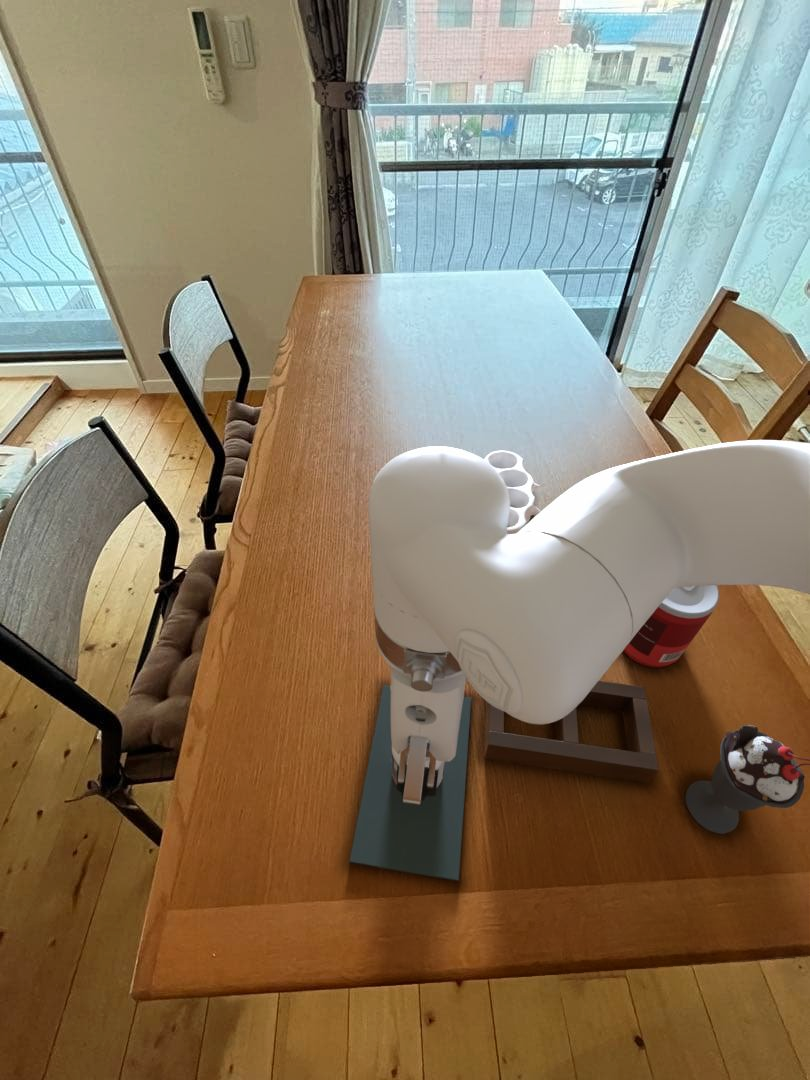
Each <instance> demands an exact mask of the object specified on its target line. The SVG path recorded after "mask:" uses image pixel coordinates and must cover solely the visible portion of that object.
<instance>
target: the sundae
mask: <svg viewBox="0 0 810 1080" xmlns="http://www.w3.org/2000/svg"><path fill="white" fill-rule="evenodd" d="M719 750H720V753H719V755H720V759H719V761H718V763H717V764H716V766H715V768H714V770H713V773H712V775H711V780H710V781H709V780H697V781H695V782H692V783H691V784H690V785H689V786H688V788H687V790H686V792H685V803H686V807H687V809H688V811H689V814H690V815H691V816H692V818H693V819H694V820H695V821H696V823H698V825H700V826H701V827H703V828H704V829H706V830H707V831H710V832H712V833H716V834H729V833H731V832H732V831H734V830H735V829H736V828H737V826H738V824H739V821H740V814H739V812H748V811H755V810H757V809H759V808H762V807H764V806H768V807H771V808H778V809H788V808H791V807H793V806H794V805H796V804H797V803H798V802H799V801H800V799H801V797H802V795H803V793H804V790H805V778H806V777H805V774H804V773H803V771H802V769H801V766H810V758H804V757H803V758H802V757H799V756H797V755H795V753H794V751H793V749H792V748H791V747H790V746H785V745H784V743H782V742H780V741H778V740H776V739H774V738H772V737H771V736H769V735H768V734H766V733H764V732H761V731H759V727H758V726H757V725H754V724H753V725H752V724H746V725H745V724H742V725H740V727H739V729H736V730H734V731H727V732H726V733H725V736H724V737H723V738H722V740H721V743H720V747H719ZM794 758H795V759H798V760H801V761H808V762H809V763H807V762H805V763H804V762H803V763H799V764H798V762H797V761H796V760H795V759H794Z"/></svg>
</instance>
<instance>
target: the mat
mask: <svg viewBox="0 0 810 1080" xmlns="http://www.w3.org/2000/svg"><path fill="white" fill-rule="evenodd" d="M390 686H391V685H385V684H384V685H382V690H381V695H380V700H379V706H378V711H377V716H376V721H375V727H374V732H373V737H372V741H371V742H372V743H371V748H370V752H369V758H368V761H367V762H368V763H367V769H366V773H365V779H364V783H363V789H362V793H361V794H362V795H361V799H360V803H359V804H360V805H359V809H358V815H357V820H356V826H355V831H354V836H353V841H352V846H351V851H350V857H349V863H350V864H354V865H360V866H366V867H372V868H378V869H384V870H390V871H395V872H401V873H408V874H414V875H420V876H425V877H431V878H436V879H441V880H442V879H443V880H448V881H454V882H459V881H460V868H461V855H462V841H463V840H462V839H463V825H464V812H465V811H464V809H465V797H466V781H467V770H468V769H467V767H468V754H469V739H470V738H469V737H470V723H471V710H472V697H471V696H470V697H469V696H464V698H463V704H462V711H461V718H460V725H459V733H458V740H457V749H456V755H455V757H454V758H453V759H452V760H451V761H445V768H444V774H443V778H442V780H441V783H440V784H439V786H438V787H437V788H436V795H435V796H428V797H425V799H424V801H423V800H421V804H420V805H415V804H408V803H403V797H402V795H401V794H402V793H401V792H400V791H398V790H397V784H396V783H395V781H394V778H393V775H392V740H391V690H390Z"/></svg>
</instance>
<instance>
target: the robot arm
mask: <svg viewBox="0 0 810 1080" xmlns="http://www.w3.org/2000/svg"><path fill="white" fill-rule="evenodd" d="M484 459H485V458H482V457H481V456H479V455H476V454H474V453H472V452H470V451H466V450H463V449H460V448H456V447H451V446H439V445H438V446H425V447H419V448H415V449H412V450H408V451H405V452H403V453H400V454H398V455H397V456H395V457H393V458H392V459H390V460H389V461H388V462H387V463H385V464H384V466H383V467H381V469H380V470H379V472H377V474H376V475H375V477H374V480H373V481H372V484H371V486H370V490H369V493H368V506H367V509H368V510H367V511H368V513H367V514H368V530H369V531H368V532H369V546H370V549H369V550H370V563H371V579H372V580H371V581H372V598H373V615H374V616H373V617H374V630H375V631H374V632H375V642H376V646H377V650H378V651H379V654H380V655H381V657H382V658H383V660H384V661H385V662H386V663H387V665H389V666H390V685H389V686H390V690H391V740H392V746H393V748H394V750H395V751H396V752H397V753H398V754H399V753H400V751H401V754H400V764H399V766H397V790H398V791H400V792H401V793H402V794H401V795H402V797H403V803H408V804H415V805H420V804H421V800H423V801H424V799H425V797H428V796H435V795H436V787H437V779H438V772H437V770H435V768H436V760H438V761H451V760H452V759H453V758H454V757H455V755H456V749H457V740H458V733H459V725H460V718H461V711H462V704H463V698H464V697H465V689H466V682H468V683H469V684H470V686H471V687H472V688H473V689H474V691H475V692H476V693H477V694H478V695H479V696H480V698H482V699H483V700H484V701H486V703H487V702H488V703H489V704H491V705H492V706H494V707H495V708H498V709H500V710H502V711H504V713H506V714H507V715H509V716H511V717H513V718H514V719H516V720H519V721H521V722H524V723H527V724H530V725H549V724H552V723H555V721H558V720H560V719H562V718H564V717H565V716H566V715H568V714H569V713H570V712H571V711H572V710H573V709H575V708H576V709H577V707H579V706H578V705H579V704H580V703H581V702H582V701H583V700H584V698H585V697H586V696H587V694H588V693H589V692H590V691H591V689H592V688H593V687H594V686H595V685H596V683H597V682H598V681H601V679H602V677H604V675H605V674H606V672H607V671H608V670H609V668H610V667H612V665H613V664H614V663H615V662H616V660H617V659H618V658H619V656H620V655H621V654H622V653H623V652H624V651H623V650H624V649H625V647H626V646H627V645H628V644H629V642H630V641H631V640H632V639H633V637H634V636H635V635H636V633H637V632H638V631H639V630H640V629H641V627H642V626H643V625H644V624H645V622H646V621H647V620H648V619H649V617H650V616H651V615H652V614H653V613H654V611H655V610H656V609H657V608H658V606H659V605H660V604H661V603H662V602H663V601H664V599H665V598H666V597H667V596H668V595H669V594H670V592H671V591H672V590H673V589H674V588H678V587H685V586H700V585H717V586H762V587H763V586H765V587H772V588H780V589H786V590H793V591H795V592H799V593H804V594H807V595H810V442H801V441H793V440H780V439H779V440H778V439H750V440H749V439H748V440H738V441H730V442H729V441H728V442H721V443H715V444H710V445H706V446H705V445H704V446H700V447H695V448H690V449H684V450H680V451H676V452H671V453H668V454H663V455H659V456H654V457H650V458H646V459H641V460H638V461H637V460H636V461H633V462H629V463H625V464H621V465H618V466H614V467H611V468H608V469H607V468H606V469H605V470H602V471H600V472H597V473H595V474H591V475H590V476H588V477H585V478H584V479H582V480H580V481H579V482H577V483H576V484H574V485H573V486H571V487H570V488H568V489H567V490H565V491H564V492H563V493H562V494H560V495H559V496H558V497H556V498H555V499H554V500H553V501H552V502H550V504H548V505H547V506H546V507H544V508H543V509H542V510H540V511H541V512H540V513H539V514H536V515H534V517H533V518H532V519H530V520H529V522H527V523H526V525H525V526H524V527H523V528H522V529H521V530H520V531H518V532H517V533H516V534H507V533H506V530H507V527H508V526H507V525H508V518H509V510H510V507H511V506H510V500H509V494H508V490H507V487H508V486H507V487H506V485H505V482H504V480H503V479H502V477H501V476H500V474H499V473H498V472H497V470H496V469H495V468H494V467H493V466H492V465H491V464H490V463H488V462H487V461H485V460H484ZM410 738H411V739H410ZM428 739H429V743H427V742H428ZM408 754H409V755H408ZM426 757H430V760H429V768H428V767H425V760H426ZM407 760H408V763H407Z"/></svg>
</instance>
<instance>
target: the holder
mask: <svg viewBox="0 0 810 1080" xmlns="http://www.w3.org/2000/svg"><path fill="white" fill-rule="evenodd" d="M647 698H648V697H647V693H646V687H645V686H641V685H632V684H627V683H617V682H611V681H604V680H599V681H598V682H597V683H596V685H595V686H594V687H593V688H592V689H591V691H590V692H589V693H588V694H587V696H586V697H585V698H584V700H583V701H582V702H581V703H580V704H579V705H578V706H577V707H583V708H591V709H597V710H604V711H611V712H619V713H622V716H623V724H624V733H625V739H626V746H627V750H623V749H617V748H610V747H603V746H596V745H589V744H582V743H580V740H579V728H578V727H579V725H578V711H577V707H576V708H575V709H573V710H572V711H571V712H570V713H569V714H568V715H566V716H565V717H564V718H562V719H560V720H558V721H555V722H554V728H555V739H549V738H542V737H535V736H528V735H522V734H514V733H509V732H505V727H504V726H505V712H504V711H502V710H500V709H498V708H495V707H494V706H492V705H491V704H489V703H488V702H487V701H486V707H485V708H486V711H485V713H486V714H485V731H484V748H483V749H484V752H483V758H484V759H485V760H491V761H498V762H506V763H512V764H519V765H524V766H531V767H536V768H537V767H538V768H544V769H552V770H559V771H563V772H564V771H566V772H569V773H570V772H571V773H578V774H585V775H592V776H597V777H603V778H604V777H605V778H610V779H617V780H623V781H631V782H636V783H643V784H647V783H649V782H650V780H651V779H652V778H653V777H654V776H655V775H656V773H657V772H658V771H659V764H658V758H657V753H656V747H655V741H654V735H653V728H652V722H651V717H650V711H649V704H648V699H647Z"/></svg>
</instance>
